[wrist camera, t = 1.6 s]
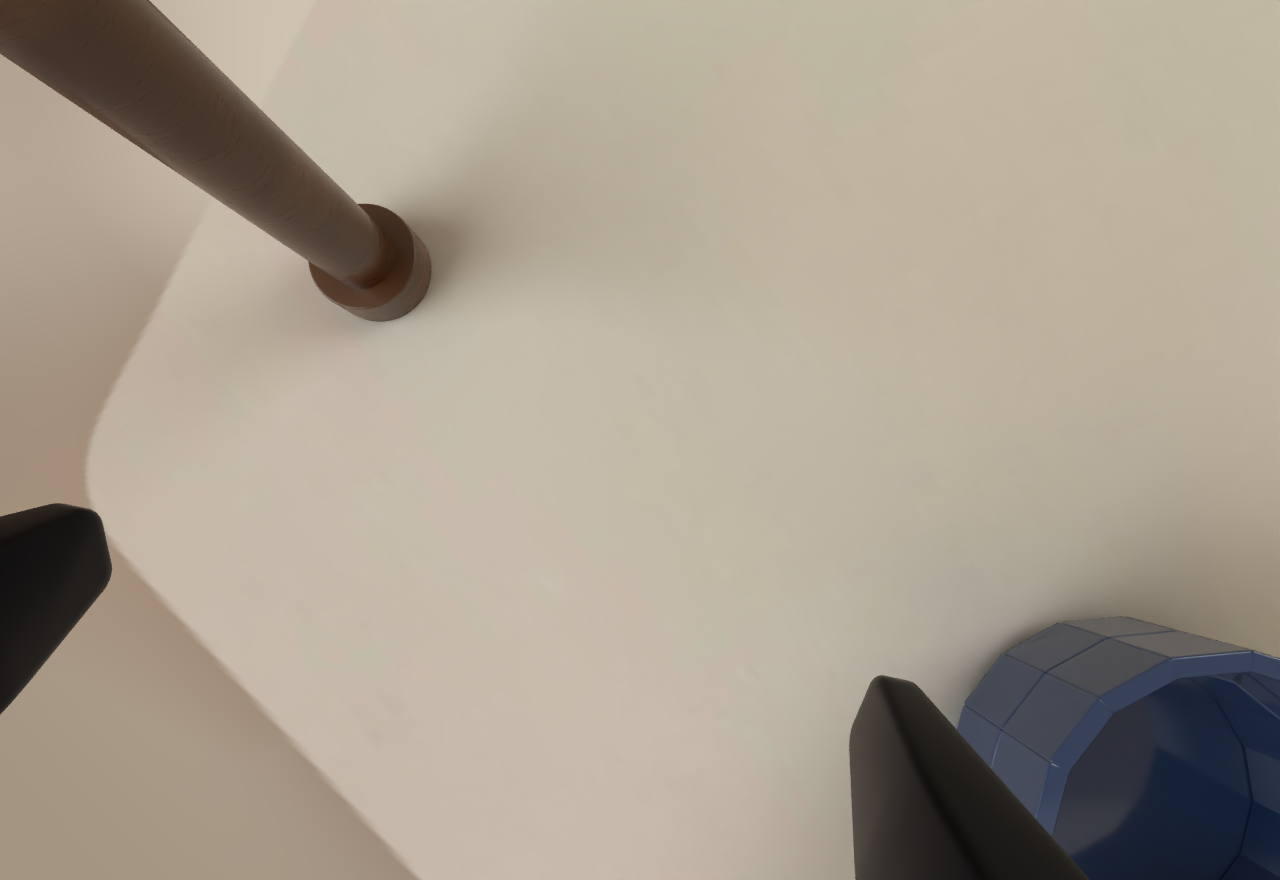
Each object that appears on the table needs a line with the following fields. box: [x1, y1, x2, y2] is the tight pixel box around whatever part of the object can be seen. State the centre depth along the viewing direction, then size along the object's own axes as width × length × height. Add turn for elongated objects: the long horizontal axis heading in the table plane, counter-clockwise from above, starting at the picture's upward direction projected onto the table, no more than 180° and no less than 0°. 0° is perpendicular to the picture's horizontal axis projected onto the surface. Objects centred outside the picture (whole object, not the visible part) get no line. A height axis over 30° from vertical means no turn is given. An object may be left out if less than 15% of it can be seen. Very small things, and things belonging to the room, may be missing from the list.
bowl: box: [957, 616, 1280, 880], centre depth 18 cm, size 9×9×5 cm
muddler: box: [0, 0, 431, 321], centre depth 15 cm, size 3×3×14 cm
